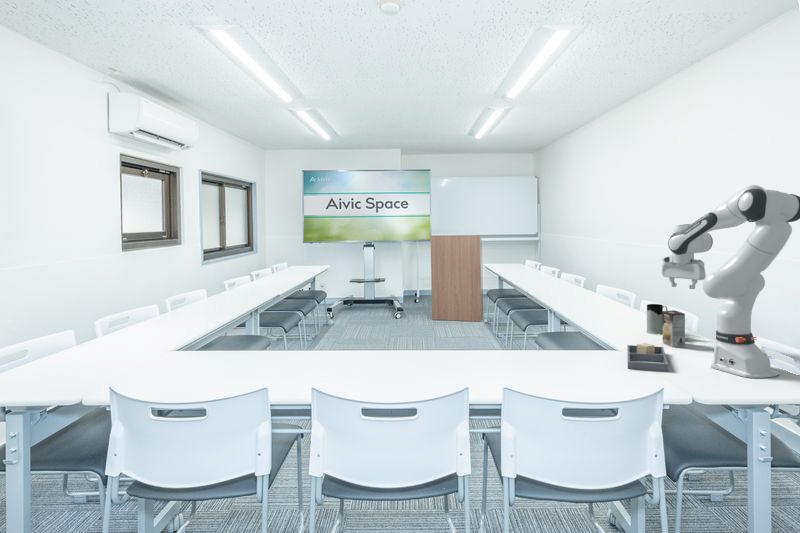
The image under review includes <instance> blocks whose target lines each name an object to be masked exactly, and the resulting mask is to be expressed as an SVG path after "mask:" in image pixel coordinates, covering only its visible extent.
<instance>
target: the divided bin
mask: <svg viewBox="0 0 800 533" xmlns="http://www.w3.org/2000/svg"><path fill="white" fill-rule="evenodd" d="M626 348H627V350H626V351H627V370H629V369H630V370H641V371H644V370H645V371H654V372H655V371H656V372H669V363H668V360H667V354H666V352H665V349H664V346H655V354H643V353H637V345H635V344H634V345H633V344H632V345H631V344H630V345H629V344H627V346H626Z"/></svg>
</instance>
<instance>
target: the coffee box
mask: <svg viewBox="0 0 800 533" xmlns="http://www.w3.org/2000/svg"><path fill="white" fill-rule="evenodd" d="M685 322H686V313H684V312H680V311H678V310H667V311H666V310H663V311H662V328H663V334H662V344H665V345H667V346H669V347H671V348H683V347H684V348H685V347H686V323H685Z"/></svg>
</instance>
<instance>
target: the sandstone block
mask: <svg viewBox="0 0 800 533" xmlns="http://www.w3.org/2000/svg"><path fill="white" fill-rule="evenodd" d="M636 346H637V353H643V354H655V347H656V346H655V344H651V343H647V342H643V343H636Z"/></svg>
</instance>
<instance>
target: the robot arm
mask: <svg viewBox="0 0 800 533" xmlns="http://www.w3.org/2000/svg"><path fill="white" fill-rule="evenodd" d="M799 220H800V196H799V195H797V194H793V193H787V192H782V191H779V190H775V189H774V190H773V189H765V188H764V187H763V186H761V185H757V184H751V185H748V186H746V187H744V188H742V189H741V190H739V191H737V192H735V193H734V194H733V195H731V197H729V198H728V199H727V200H725V201H724V202H723V203H721V204H720V205H719V206H717V207H716V208H714V209H713V210H711V211H710V212H708V213H707V214H705V215H703V216H701V217H700V218H698V219H697V220H695V221H694V222H692V223H691V224H690V223H689V224H688V223H686V224H685V223H684V224H679V225H675V226H674V228H673V230H672V235H671V236H669V239H668V242H667V246H668V248H669V250H670V251H671V255H668V256H665V257H662V262H663V263H662V265H661V276H662V277H664V278H668V280H669V282H670V284H671V287H672V288H676V287H677V286H678V284H677V282H675V280H676V279H685V280H691V284H689V285H688V286H689V289H690V290H695V289H696V285H697V283H698V282H699V281H703V282H702V289H703V291H704V292H703V293H705V294H706V296H708V297H710V298H712V299H718V300H724V302H723V304H722V306H721V307H720V308H718V310H717V313H716V326H717V328H716V331H715V340H716V344H715V346H714V350H713V360H712V363H711V365H710V368H712V369H715V370H719V371H721V372H726V373H729V374H732V375H736V376H740V377H743V378H748V379H749V378H752V379H758V378H761V379H762V378H774V377H777V376H780V375H779V371H777V370H775V369H772V367H771V361H770V358H769V356H768V355H767V354H766V353H764V352H763V351H762V349H761V348H760V347H759V346H758V345H757V344H756V342H755V341H757V338H758V337H757V336H754V335H753V332H752V313H753V308H754V305H755V302H756V299H757V298H758V295H759V294H760V293H761V291H763V290H764V287H765V284H766V281H765V277H764V276H763V274H761V273H763V272H764V271H765V270H767V269H768V268H769V266H770V265H771V264H772V263H773V262H774V260H775V259H776V257H777V256H778V255H779V254H780V253H781V251H782V250H783V249H784V247H785V246H786V244H787V242H788V240H789V239H790V237H791V235H792V231H793V228H792V224H790V223H793V222H796V221H799ZM746 222H749V223H754V224H755V226H754V229H753V230H752V231H751V232H750V235H748V237H746V240H745V241H744V242H743V244H742V245H741V247H740V248H739V249H738V250H737V251H736V253H735V254H734V255H732V256H731V257H730V259H729V260H727V261H726V262H725V263H723V265H722V266H720V267H719V268H717V270H716V271H714V272H712V273H711V274H709V275H707V276H706V268H705V262H704V261H703V260H701V259H695V254H700V253H706V252H709V251H710V250H711V248H712V247H713V243H714V240H713V237H712V235H711V234H710V233H709V232H713V231H716V230H722V229H729V228H735V227H738V226H741V225H743V224H745V223H746Z"/></svg>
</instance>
